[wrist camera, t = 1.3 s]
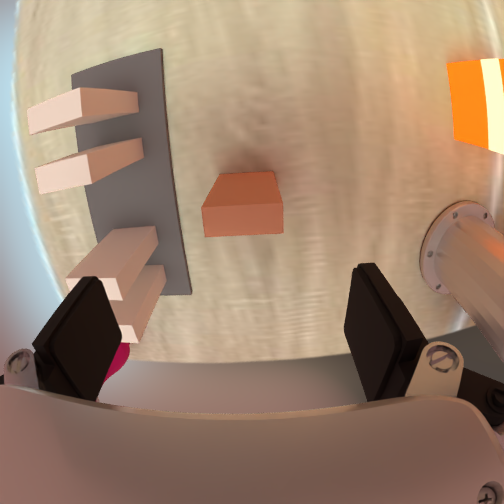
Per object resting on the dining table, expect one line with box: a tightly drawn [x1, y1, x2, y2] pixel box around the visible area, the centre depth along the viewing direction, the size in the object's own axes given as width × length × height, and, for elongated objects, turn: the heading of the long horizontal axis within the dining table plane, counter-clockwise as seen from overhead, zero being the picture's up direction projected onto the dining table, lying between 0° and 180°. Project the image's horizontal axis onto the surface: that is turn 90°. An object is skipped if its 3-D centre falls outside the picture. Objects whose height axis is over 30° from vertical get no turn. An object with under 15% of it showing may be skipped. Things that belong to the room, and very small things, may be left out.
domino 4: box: [109, 265, 167, 343], centre depth 26 cm, size 2×5×10 cm, turn 93°
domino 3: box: [65, 226, 159, 300], centre depth 24 cm, size 2×5×10 cm, turn 93°
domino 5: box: [201, 171, 283, 237], centre depth 22 cm, size 2×5×10 cm, turn 93°
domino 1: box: [27, 87, 139, 135], centre depth 18 cm, size 2×5×10 cm, turn 93°
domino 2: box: [35, 138, 144, 194], centre depth 20 cm, size 2×5×10 cm, turn 93°
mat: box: [71, 48, 192, 295], centre depth 27 cm, size 10×26×1 cm, turn 3°
